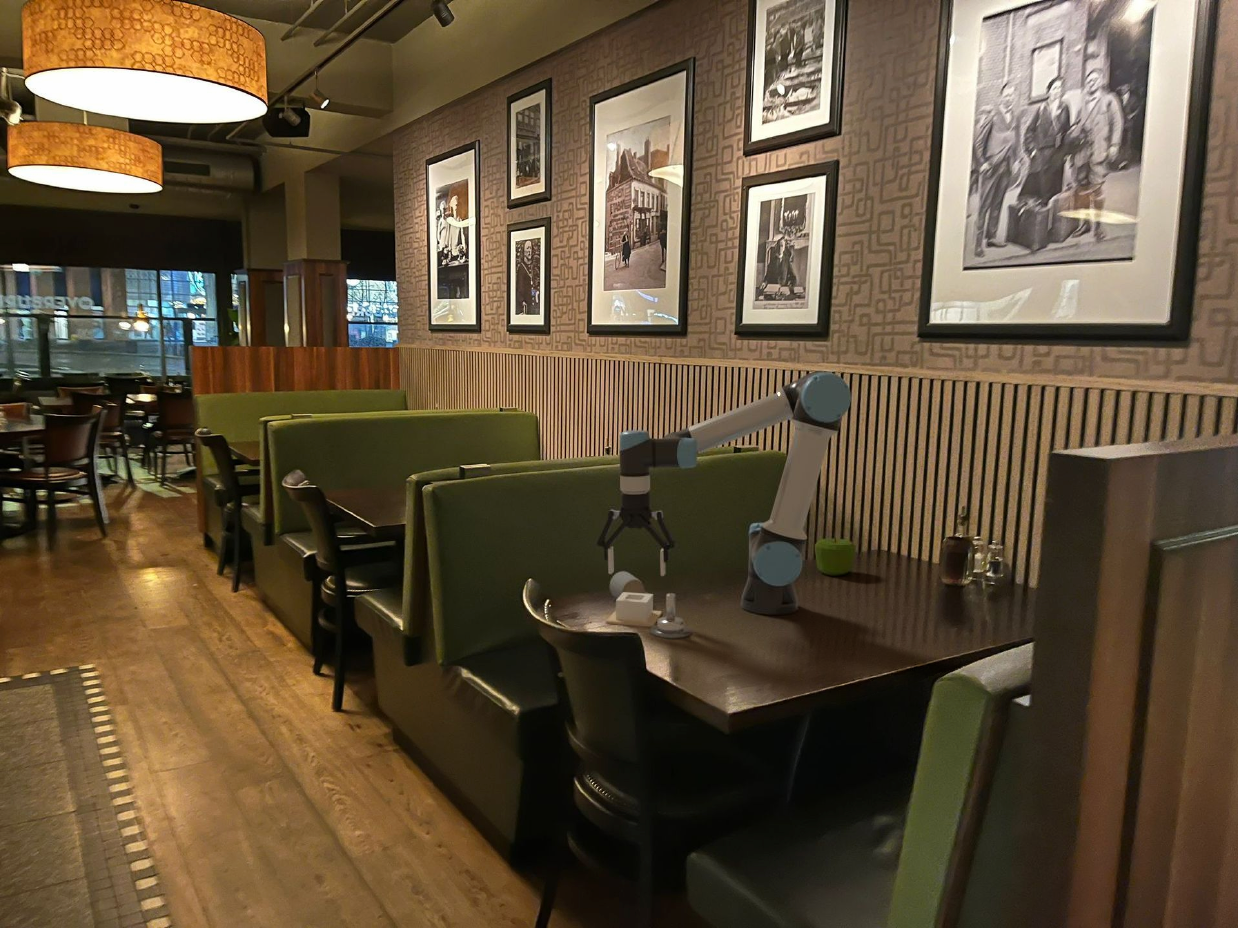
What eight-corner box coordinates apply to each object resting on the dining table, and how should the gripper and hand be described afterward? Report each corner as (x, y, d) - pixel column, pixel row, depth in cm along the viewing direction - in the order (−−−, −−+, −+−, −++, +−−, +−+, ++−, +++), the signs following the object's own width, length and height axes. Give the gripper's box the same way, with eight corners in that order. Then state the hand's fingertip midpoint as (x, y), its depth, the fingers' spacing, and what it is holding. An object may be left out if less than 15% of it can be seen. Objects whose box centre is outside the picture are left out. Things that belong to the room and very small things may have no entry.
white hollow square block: (652, 612, 233) (653, 594, 232) (646, 621, 225) (646, 602, 224) (623, 610, 234) (623, 592, 234) (615, 619, 227) (615, 600, 226)
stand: (693, 627, 222) (694, 590, 221) (687, 640, 213) (687, 601, 211) (654, 624, 225) (654, 587, 223) (646, 636, 215) (646, 598, 214)
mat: (661, 613, 234) (661, 611, 234) (652, 626, 223) (652, 624, 223) (617, 610, 237) (617, 607, 237) (606, 623, 225) (606, 620, 225)
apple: (859, 578, 272) (860, 542, 270) (818, 578, 272) (820, 541, 270) (849, 568, 284) (850, 533, 283) (810, 568, 284) (811, 533, 283)
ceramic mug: (622, 606, 240) (623, 578, 239) (608, 599, 247) (609, 572, 246) (656, 602, 245) (657, 575, 244) (642, 595, 252) (642, 568, 251)
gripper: (686, 490, 226) (687, 571, 229) (591, 488, 232) (593, 568, 235) (681, 494, 219) (682, 579, 222) (583, 493, 225) (586, 575, 228)
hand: (636, 573), depth 228 cm, fingers open, 13 cm apart
